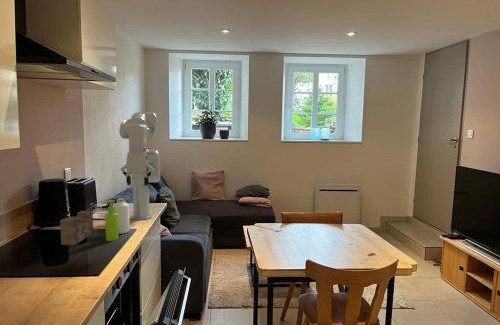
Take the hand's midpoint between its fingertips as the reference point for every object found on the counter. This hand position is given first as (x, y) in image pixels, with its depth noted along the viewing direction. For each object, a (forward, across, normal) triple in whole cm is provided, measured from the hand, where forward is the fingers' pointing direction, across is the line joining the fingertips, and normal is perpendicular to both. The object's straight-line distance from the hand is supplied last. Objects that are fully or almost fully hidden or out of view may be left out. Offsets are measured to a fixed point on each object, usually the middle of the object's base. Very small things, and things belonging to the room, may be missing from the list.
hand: (137, 184), depth 178 cm
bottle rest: (+28, +31, 0) cm, 42 cm away
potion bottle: (+28, +14, -13) cm, 34 cm away
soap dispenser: (+28, +14, 0) cm, 32 cm away
